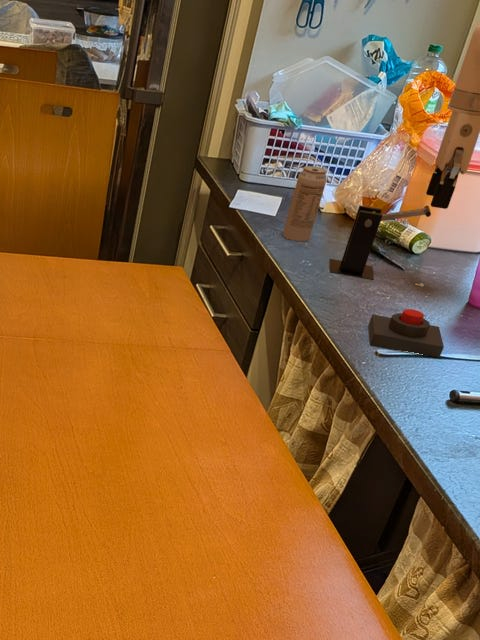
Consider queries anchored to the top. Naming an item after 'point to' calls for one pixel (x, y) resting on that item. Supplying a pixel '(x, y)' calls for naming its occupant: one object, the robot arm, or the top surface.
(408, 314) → the button
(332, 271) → the bracket
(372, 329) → the control block
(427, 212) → the lever
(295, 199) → the energy drink can
